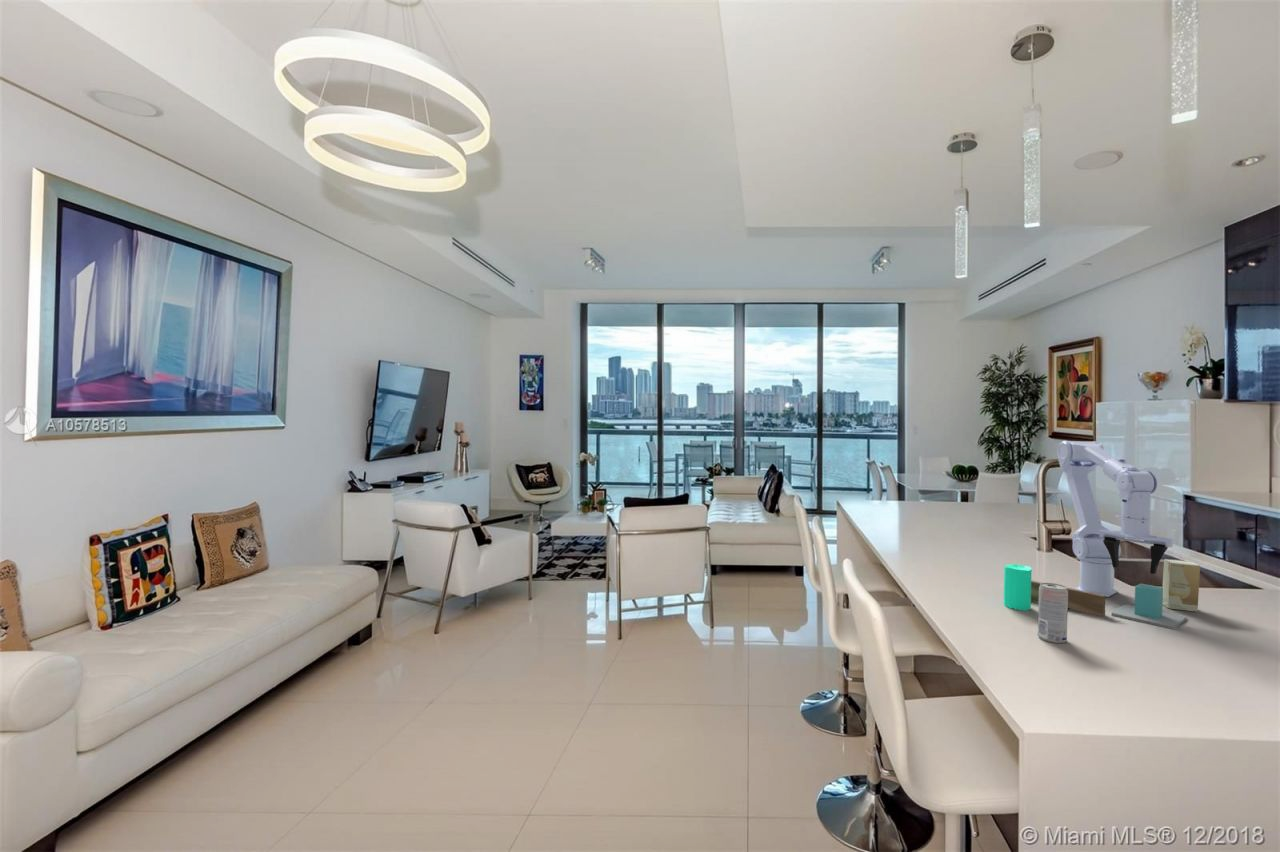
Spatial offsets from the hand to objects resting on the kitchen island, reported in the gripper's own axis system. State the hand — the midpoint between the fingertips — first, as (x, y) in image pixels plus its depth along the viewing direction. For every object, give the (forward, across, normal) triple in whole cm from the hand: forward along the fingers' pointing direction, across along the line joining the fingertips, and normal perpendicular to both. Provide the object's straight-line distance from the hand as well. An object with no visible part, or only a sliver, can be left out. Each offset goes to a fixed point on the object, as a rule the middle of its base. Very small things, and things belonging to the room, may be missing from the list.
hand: (1134, 569), depth 153 cm
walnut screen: (+10, -13, -12) cm, 21 cm away
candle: (+11, -19, -22) cm, 31 cm away
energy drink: (+11, -5, -41) cm, 43 cm away
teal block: (+10, +4, -4) cm, 11 cm away
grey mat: (+10, +4, -4) cm, 12 cm away
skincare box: (+11, +7, +12) cm, 17 cm away
